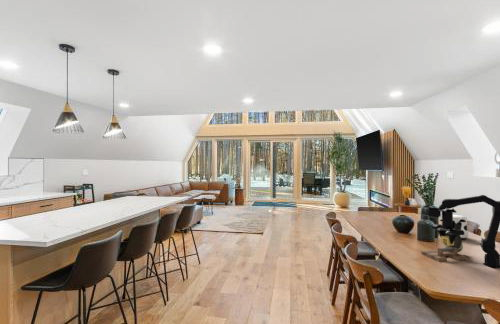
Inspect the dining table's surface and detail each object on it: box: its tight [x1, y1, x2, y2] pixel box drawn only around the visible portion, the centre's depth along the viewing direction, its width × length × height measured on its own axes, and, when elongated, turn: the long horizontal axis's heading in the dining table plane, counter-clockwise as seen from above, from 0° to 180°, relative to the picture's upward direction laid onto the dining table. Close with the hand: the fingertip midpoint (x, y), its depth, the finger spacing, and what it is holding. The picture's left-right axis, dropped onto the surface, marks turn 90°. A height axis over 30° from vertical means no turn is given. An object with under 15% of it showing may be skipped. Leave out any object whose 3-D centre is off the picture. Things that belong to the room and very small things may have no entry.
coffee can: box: [444, 232, 464, 253], centre depth 178 cm, size 10×10×14 cm
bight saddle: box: [440, 236, 454, 246], centre depth 170 cm, size 5×4×5 cm
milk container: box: [446, 214, 469, 240], centre depth 220 cm, size 17×17×18 cm
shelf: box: [420, 247, 467, 262], centre depth 173 cm, size 14×20×7 cm
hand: (447, 242), depth 170 cm, fingers closed on bight saddle, 5 cm apart
